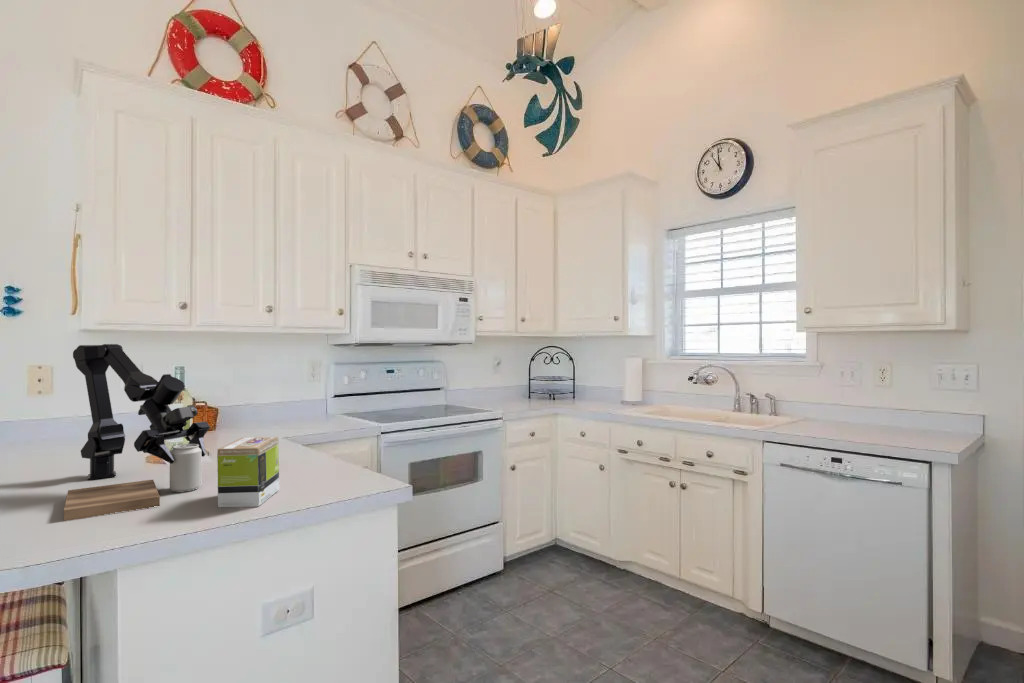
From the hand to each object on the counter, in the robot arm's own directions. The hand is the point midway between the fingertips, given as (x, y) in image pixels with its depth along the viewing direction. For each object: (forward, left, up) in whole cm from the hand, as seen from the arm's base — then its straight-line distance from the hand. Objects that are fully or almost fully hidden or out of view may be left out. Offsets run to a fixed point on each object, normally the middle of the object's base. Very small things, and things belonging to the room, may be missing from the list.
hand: (189, 458), depth 147 cm
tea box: (+19, +11, -9) cm, 24 cm away
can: (-1, -1, -9) cm, 9 cm away
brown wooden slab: (+3, -17, -9) cm, 19 cm away
